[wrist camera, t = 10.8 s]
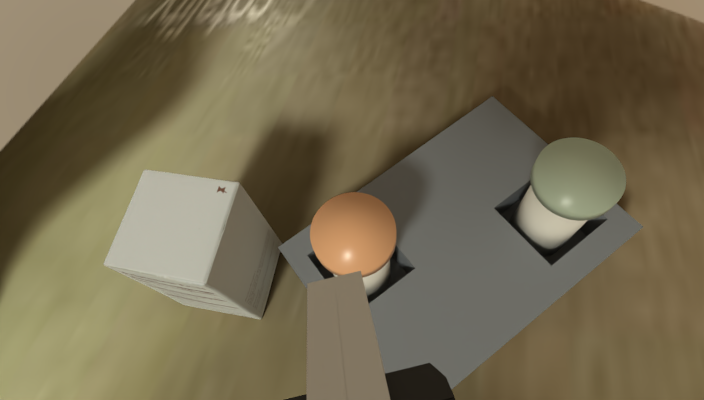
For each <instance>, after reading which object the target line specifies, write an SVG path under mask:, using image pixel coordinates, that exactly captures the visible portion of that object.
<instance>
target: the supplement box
mask: <svg viewBox="0 0 704 400" xmlns="http://www.w3.org/2000/svg"><path fill="white" fill-rule="evenodd" d="M281 245H282V242H281V241H280V239H279V238H278V237H277V235H276V234H275V232H274V231H273V229H272V228H271V227H270V225H269V224H268V222H267V221H266V219H265V218H264V217H263V215H262V214H261V212H260V211H259V210H258V208H257V207H256V205H255V204H254V202H253V201H252V200H251V198H250V197H249V195H248V194H247V192H246V191H245V189H244V188H243V187H242V185H241V184H240V183H239V182H236V181H227V180H219V179H211V178H203V177H197V176H190V175H183V174H175V173H168V172H161V171H154V170H144V171H143V173H142V176H141V178H140V180H139V183H138V185H137V187H136V190H135V192H134V195H133V197H132V199H131V202H130V204H129V206H128V208H127V211H126V213H125V215H124V218H123V220H122V222H121V225H120V227H119V229H118V232H117V234H116V236H115V238H114V241H113V243H112V245H111V248H110V250H109V252H108V255H107V257H106V259H105V261H104V265H105V266H107V267H108V268H110V269H113V270H115V271H117V272H119V273H121V274H123V275H125V276H127V277H129V278H131V279H133V280H135V281H137V282H139V283H142V284H144V285H146V286H148V287H150V288H152V289H154V290H156V291H158V292H160V293H162V294H164V295H165V296H168V297H169V298H171V299H173V300H175V301H177V302H179V303H181V304H183V305H186V306H192V307H197V308H203V309H208V310H213V311H219V312H224V313H229V314H234V315H239V316H245V317H250V318H255V319H262V316H263V312H264V309H265V306H266V302H267V299H268V295H269V291H270V288H271V284H272V280H273V276H274V273H275V269H276V265H277V262H278V258H279V254H280V250H279V248H278V247H279V246H281Z"/></svg>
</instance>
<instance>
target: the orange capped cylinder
mask: <svg viewBox="0 0 704 400" xmlns="http://www.w3.org/2000/svg"><path fill="white" fill-rule="evenodd" d="M310 240H311V245H312V248H313V250H314V252H315V254H316V256H317V258H318V260H319V261H320V263H321V264H322V265H323V266H324V267H325V268H326V269H327V270H328V271H330V272H331V273H333V275H334V277H336V276H340V275H345V274H349V273H353V272H357V271H361V274H362V278H363V282H364V286H365V291H366V295H367V299H368V301H372V300H374V299H376V298H377V297H378V296H380V295H381V294H382V293H384V292H385V291H386V289H387V288H388V286H389V283H390V279H391V268H390V258H391V257H392V255H393V253H394V250H395V246H396V223H395V220H394V217H393V215H392V213H391V211H390V210H389V208H388V207H387V206H386V205H385V204H384V203H383V202H382V201H380V200H379V199H378V198H376V197H374V196H372V195H369V194H365V193H360V192H349V193H344V194H340V195H337V196H335V197H333V198H331V199H330V200H328V201H327V202H326V203H324V204H323V205H322V206H321V207H320V208H319V210H318V211H317V212H316V214H315V216H314V218H313V220H312V223H311V228H310Z"/></svg>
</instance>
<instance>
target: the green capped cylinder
mask: <svg viewBox="0 0 704 400" xmlns="http://www.w3.org/2000/svg"><path fill="white" fill-rule="evenodd" d="M530 182H531V185H530V187H529V189H528V190H527V192H526V194H525V195H524V197H523V199H522V201H521V202H520V204H519V206H518V208H517V209H516V211H515V213H514V214H513V216H512V218H511V220H510V223H509V224H510V225H511V226H512V227H513V228H514V229H515V230H516V231H517V232H518V233H519V234H520V235H521V236H522V237H523V238H524V239H525V240H526V241H527V242H528V243H529V244H530V245H531V246H532V247H533V248H534V249H535V250H536V251H537V252H538V253H539V254H540V255H541V256H542V257H543V256H549V255H552V254H554V253H555V252H557V251H558V250H559V249H560V248H561V247H562V246H563V245H564V244H565V243H566V242H567V241H568V240H569V239H570V238H571V237H572V236H573V235H574V234H575V233H576V232H577V231H578V230H579V229H580V228H581V227H582V226H583V225H584V224H585V223H586V222H587V220H591V219H595V218H598V217H600V216H602V215H604V214H605V213H606V212H608V211H609V210H610V209H611V208H612V207H613V206H614V205H615V204H616V203H617V202H618V201H619V200H620V198H621V197H622V195H623V193H624V191H625V188H626V175H625V171H624V168H623V166H622V164H621V162H620V161H619V159H618V158H617V157H616V156H615V155H614V154H613V153H612V152H611V151H610V150H609V149H607V148H606V147H604V146H603V145H601V144H599V143H597V142H595V141H592V140H589V139H584V138H575V137H571V138H563V139H559V140H556V141H554V142H552V143H550V144H549V145H547V146H546V147H545V148H544V149H543V150H542V151H541V152H540V154H539V156H538V157H537V159H536V161H535V163H534V165H533V167H532V170H531V174H530Z"/></svg>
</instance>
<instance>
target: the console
mask: <svg viewBox="0 0 704 400" xmlns="http://www.w3.org/2000/svg"><path fill="white" fill-rule="evenodd" d="M547 145H548V144H547V143H546V142H545V141H544V140H543V139H541V138H540V137H539V136H538V135H537V134H536V133H534V132H533V131H532V130H531V129H530V128H529V127H528V126H526V125H525V124H524V123H523V122H522V121H521V120H519V119H518V118H517V117H516V116H515V115H514V114H513V113H511V112H510V111H509V110H508V109H507V108H506V107H504V106H503V105H502V104H501V103H500V102H499V101H498V100H496V99H495V98H494V97H493V96H492V97H491V98H489V99H488V100H486V101H485V102H483V103H482V104H481V105H479V106H478V107H476V108H475V109H474V110H472V111H471V112H469V113H468V114H466V115H465V116H464V117H462V118H461V119H459V120H458V121H456V122H455V123H454V124H452V125H451V126H449V127H448V128H447V129H445V130H444V131H442V132H441V133H439V134H438V135H437V136H435V137H434V138H432V139H431V140H430V141H428V142H427V143H425V144H424V145H422V146H421V147H420V148H418V149H417V150H415V151H414V152H413V153H411V154H410V155H408V156H407V157H405V158H404V159H403V160H401V161H400V162H398V163H397V164H395V165H394V166H393V167H391V168H390V169H388V170H387V171H386V172H384V173H383V174H381V175H380V176H378V177H377V178H376V179H374V180H373V181H371V182H370V183H369V184H367V185H366V186H364V187H363V188H361V189H360V190H359V191H357V192H360V193H365V194H369V195H372V196H374V197H376V198H378V199H379V200H380V201H382V202H383V203H384V204H385V205H386V206H387V207H388V208H389V210H390V211H391V213H392V215H393V217H394V220H395V223H396V246H395V250H394V253H393V255H392V257H391V258H390V268H391V279H390V283H389V286H388V288H387V289H386V291H385V292H384V293H382V294H381V295H380V296H378V297H377V298H376V299H374V300H372V301H368V303H369V307H370V311H371V316H372V320H373V324H374V328H375V332H376V337H377V341H378V345H379V349H380V353H381V358H382V362H383V366H384V371H385V373H389V372H394V371H398V370H402V369H406V368H410V367H414V366H418V365H422V364H426V363H431V364H432V365H433V366H434V367H435V368H436V369H438V370H439V371H440V372H441V373H442V374H443V375H444V376H445V377H446V378H447V380H448V383H449V385H450V388H451V389H452V388H454V387H455V386H456V385H457V384H458V383H460V382H461V381H462V380H463V379H464V378H465V377H467V376H468V375H469V374H470V373H471V372H473V371H474V370H475V369H476V368H477V367H478V366H480V365H481V364H482V363H483V362H484V361H486V360H487V359H488V358H489V357H490V356H491V355H493V354H494V353H495V352H496V351H497V350H498V349H500V348H501V347H502V346H503V345H504V344H506V343H507V342H508V341H509V340H510V339H511V338H513V337H514V336H515V335H516V334H517V333H519V332H520V331H521V330H522V329H523V328H524V327H526V326H527V325H528V324H529V323H530V322H532V321H533V320H534V319H535V318H536V317H537V316H539V315H540V314H541V313H542V312H543V311H545V310H546V309H547V308H548V307H549V306H550V305H552V304H553V303H554V302H555V301H556V300H558V299H559V298H560V297H561V296H562V295H563V294H565V293H566V292H567V291H568V290H569V289H571V288H572V287H573V286H574V285H575V284H576V283H578V282H579V281H580V280H581V279H582V278H584V277H585V276H586V275H587V274H588V273H589V272H591V271H592V270H593V269H594V268H595V267H597V266H598V265H599V264H600V263H601V262H602V261H604V260H605V259H606V258H607V257H608V256H609V255H611V254H612V253H613V252H614V251H615V250H617V249H618V248H619V247H620V246H621V245H622V244H624V243H625V242H626V241H627V240H628V239H630V238H631V237H632V236H633V235H634V234H635V233H637V232H638V231H639V230H640V229H641V228H643V226H642V225H641V224H639V223H638V222H637V221H636V220H635V219H634V218H633V217H631V216H630V215H629V214H628V213H627V212H626V211H624V210H623V209H622V208H621V207H620V206H619V205H618V204H615V205H614V206H613V207H612V208H611V209H610V210H609V211H608V212H606V213H605V214H604V215H602V216H600V217H598V218H595V219H591V220H587V222H586V223H585V224H584V225H583V226H582V227H581V228H580V229H579V230H578V231H577V232H576V233H575V234H574V235H573V236H572V237H571V238H570V239H569V240H568V241H567V242H566V243H565V244H564V245H563V246H562V247H561V248H560V249H559V250H558V251H557V252H555V253H554V254H552V255H549V256H543V257H542V256H541V255H540V254H539V253H538V252H537V251H536V250H535V249H534V248H533V247H532V246H531V245H530V244H529V243H528V242H527V241H526V240H525V239H524V238H523V237H522V236H521V235H520V234H519V233H518V232H517V231H516V230H515V229H514V228H513V227H512V226H511V225H510V224H509V223H510V220H511V218H512V216H513V214H514V213H515V211H516V209H517V208H518V206H519V204H520V202H521V201H522V199H523V197H524V195H525V194H526V192H527V190H528V189H529V187H530V185H531V182H530V174H531V170H532V167H533V165H534V163H535V161H536V159H537V157H538V156H539V154H540V152H541V151H542V150H543V149H544V148H545V147H546V146H547ZM310 228H311V224H310V225H309V226H308V227H306V228H305V229H303V230H302V231H300V232H299V233H298V234H296V235H295V236H293V237H292V238H290V239H289V240H288V241H286V242H285V243H283V244H282V245H281V246H279V247H278V248H279V250H280V251H281V253H282V254H283V255H284V257H285V258H286V260H287V261H288V262H289V264H290V265H291V267H292V268H293V270H294V271H295V272H296V274H297V275H298V277H299V278H300V280H301V281H302V282H303V284H304V285H305V287H306V288H307V283H311V282H315V281H320V280H324V279H328V278H332V277H334V275H333V273H331V272H330V271H328V270H327V269H326V268H325V267H324V266H323V265H322V264H321V263H320V261H319V260H318V258H317V256H316V254H315V252H314V250H313V248H312V245H311V240H310Z"/></svg>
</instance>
